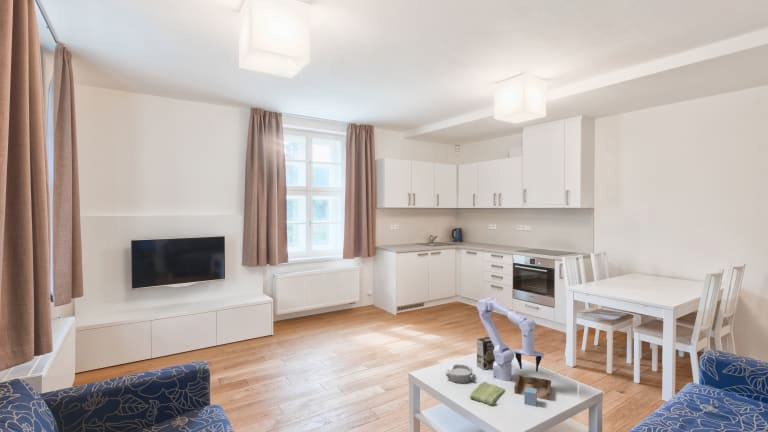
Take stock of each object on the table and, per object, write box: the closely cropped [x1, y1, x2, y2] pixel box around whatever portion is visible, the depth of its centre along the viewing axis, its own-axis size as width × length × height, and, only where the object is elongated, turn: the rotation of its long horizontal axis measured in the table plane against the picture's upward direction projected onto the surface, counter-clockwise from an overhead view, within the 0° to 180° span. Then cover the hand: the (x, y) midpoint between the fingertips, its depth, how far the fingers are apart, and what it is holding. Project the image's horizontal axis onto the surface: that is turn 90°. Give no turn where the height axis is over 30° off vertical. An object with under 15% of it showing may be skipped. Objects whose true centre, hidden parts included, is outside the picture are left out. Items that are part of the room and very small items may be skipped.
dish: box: [445, 363, 474, 384], centre depth 204 cm, size 14×14×5 cm
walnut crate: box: [514, 374, 552, 401], centre depth 188 cm, size 16×14×4 cm
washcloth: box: [469, 381, 506, 407], centre depth 186 cm, size 13×18×3 cm
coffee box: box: [476, 336, 496, 371], centre depth 218 cm, size 9×6×16 cm
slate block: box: [523, 387, 538, 407], centre depth 177 cm, size 5×5×7 cm
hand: (528, 369), depth 191 cm, fingers open, 7 cm apart
